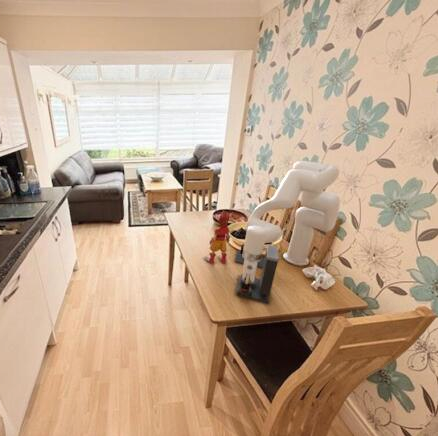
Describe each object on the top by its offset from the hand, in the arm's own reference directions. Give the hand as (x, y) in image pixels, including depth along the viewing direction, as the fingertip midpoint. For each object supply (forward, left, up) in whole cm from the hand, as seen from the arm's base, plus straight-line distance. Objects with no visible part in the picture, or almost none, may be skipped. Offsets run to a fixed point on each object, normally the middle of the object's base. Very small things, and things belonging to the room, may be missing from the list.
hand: (245, 288), depth 109 cm
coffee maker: (-5, +4, -3) cm, 7 cm away
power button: (0, 0, -2) cm, 2 cm away
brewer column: (-6, +4, 0) cm, 7 cm away
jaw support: (-22, +33, -4) cm, 40 cm away
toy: (-23, -16, -4) cm, 29 cm away
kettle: (-31, 0, -3) cm, 31 cm away
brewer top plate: (-32, +1, -3) cm, 32 cm away
